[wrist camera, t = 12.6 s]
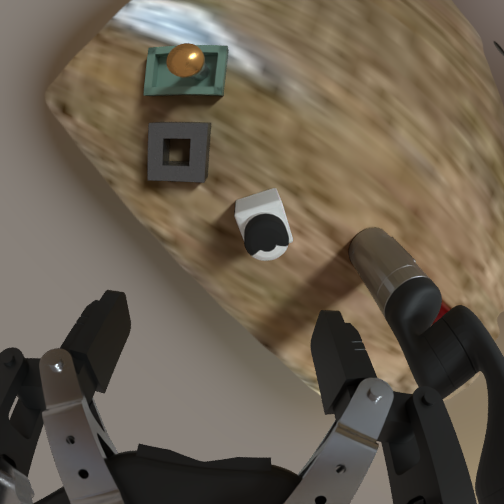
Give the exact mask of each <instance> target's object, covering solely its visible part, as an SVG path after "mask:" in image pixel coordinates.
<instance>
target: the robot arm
mask: <svg viewBox="0 0 504 504" xmlns="http://www.w3.org/2000/svg"><path fill="white" fill-rule="evenodd" d="M349 258H350V260H351V262H352V264H353V265H354V267H355V269H356V270H357V272H358V274H359V275H360V277H361V278H362V280H363V282H364V283H365V285H366V287H367V288H368V290H369V292H370V293H371V295H372V297H373V298H374V300H375V302H376V303H377V305H378V307H379V308H380V310H381V312H382V314H383V315H384V317H385V319H386V321H387V322H388V324H389V326H390V327H391V329H392V331H393V333H394V335H395V336H396V338H397V340H398V342H399V344H400V346H401V348H402V351H403V353H404V355H405V358H406V360H407V362H408V365H409V367H410V370H411V372H412V374H413V376H414V379H415V381H416V383H417V384H418V386H419V388H417V389H416V390H415V391H414V393H413V394H407V393H400V392H395V391H393V390H392V388H391V387H390V386H389V384H388V383H386V382H385V381H383V380H381V379H379V378H377V376H376V373H375V371H374V368H373V366H372V363H371V361H370V358H369V356H368V354H367V351H366V350H365V346H364V344H363V343H362V339H361V337H360V335H359V332H358V331H357V330H356V329H355V328H354V327H353V326H352V325H351V323H345V322H344V320H343V317H342V315H341V313H340V311H330V310H321V311H320V313H319V316H318V319H317V322H316V326H315V329H314V332H313V335H312V338H311V353H312V357H313V362H314V366H315V371H316V375H317V380H318V384H319V389H320V393H321V398H322V403H323V407H324V412H325V415H327V414H335V418H336V420H335V422H334V423H333V425H332V426H331V428H330V430H329V431H328V433H327V434H326V436H325V438H324V439H323V441H322V442H321V444H320V445H319V447H318V448H317V450H316V451H315V453H314V454H313V455H312V457H311V458H310V459H309V461H308V462H307V463H306V465H305V466H304V467H303V469H302V470H301V471H300V472H299V474H298V475H297V474H295V473H293V472H292V471H290V470H287V469H285V468H282V467H279V466H276V465H271V458H250V457H249V458H248V457H236V458H229V459H223V460H215V461H209V462H208V461H207V462H202V461H198V460H195V459H192V458H190V457H187V456H184V455H181V454H179V453H176V452H174V451H171V450H168V449H162V448H157V447H152V446H147V445H143V444H139V445H138V449H137V451H127V452H123V453H118V452H117V450H116V448H115V446H114V445H113V443H112V441H111V440H110V438H109V436H108V433H107V431H106V429H105V427H104V424H103V422H102V419H101V417H100V414H99V412H98V409H97V406H96V404H95V401H94V399H93V395H94V393H95V391H97V392H101V393H105V392H106V389H107V386H108V384H109V381H110V379H111V376H112V374H113V371H114V369H115V366H116V364H117V362H118V359H119V357H120V354H121V352H122V350H123V347H124V345H125V343H126V340H127V338H128V336H129V333H130V329H131V320H130V315H129V310H128V305H127V300H126V295H125V293H124V292H119V291H112V290H107V291H106V292H105V293H104V295H103V296H102V298H101V299H100V300H99V301H98V300H95V301H93V302H92V303H91V304H89V305H88V306H87V307H86V308H85V310H84V311H83V313H82V314H81V317H79V319H78V320H77V323H76V324H75V325H74V326H73V328H72V329H71V331H70V333H69V334H68V336H67V337H66V339H65V341H64V342H63V344H62V345H61V347H60V348H56V349H52V350H49V351H47V352H46V353H45V354H44V355H43V356H42V357H41V358H40V359H38V358H24V356H23V354H22V352H21V351H20V350H19V349H17V348H7V349H5V350H4V351H2V352H1V353H0V504H350V502H351V500H352V499H353V497H354V495H355V493H356V492H357V490H358V488H359V486H360V484H361V483H362V481H363V479H364V477H365V475H366V473H367V471H368V469H369V467H370V465H371V463H372V461H373V459H374V457H375V455H376V452H377V450H378V446H379V445H378V444H377V443H376V441H380V442H381V443H382V447H383V452H384V456H385V461H386V466H387V471H388V476H389V481H390V487H391V493H392V499H393V504H477V503H476V498H475V494H474V490H473V486H472V482H471V479H470V475H469V472H468V468H467V465H466V462H465V459H464V456H463V453H462V450H461V447H460V444H459V441H458V438H457V435H456V432H455V430H454V427H453V424H452V422H451V419H450V417H449V414H448V412H447V409H446V407H445V404H444V402H443V400H442V399H444V398H445V397H447V396H448V395H450V394H451V393H452V392H454V391H455V390H456V389H458V388H459V387H460V386H462V385H463V384H464V383H465V382H467V381H468V380H469V379H470V378H472V377H473V376H474V375H475V374H476V373H477V372H479V371H481V372H482V373H483V374H484V376H485V379H486V383H487V389H488V422H487V429H486V435H485V440H484V445H483V449H482V453H481V457H480V462H479V466H478V471H477V476H476V482H475V491H476V495H477V498H478V502H479V504H504V357H503V355H502V353H501V351H500V350H499V348H498V347H497V345H496V343H495V342H494V340H493V339H492V337H491V335H490V334H489V332H488V331H487V330H486V328H485V327H484V325H483V324H482V322H481V321H480V320H479V319H478V317H477V316H476V315H475V314H474V313H473V312H472V311H471V310H470V309H468V308H467V307H465V306H462V305H458V306H455V307H454V308H452V309H451V310H450V311H448V312H447V313H446V314H445V315H444V316H442V317H441V318H440V319H439V320H438V321H437V322H435V323H434V324H433V325H432V323H433V321H434V320H435V318H436V316H437V315H438V312H439V310H440V307H441V302H442V297H441V293H440V290H439V289H438V287H437V286H436V285H435V284H434V282H433V281H432V280H431V279H430V278H429V277H428V276H427V275H426V274H425V273H424V272H423V270H422V269H421V268H420V267H419V266H418V265H417V264H416V261H415V259H414V258H413V257H412V256H411V255H410V254H409V253H408V252H407V251H406V250H405V249H404V248H403V247H402V246H401V245H400V244H399V243H398V242H397V241H396V240H395V239H394V238H393V237H390V236H389V235H388V234H387V233H386V232H385V231H384V230H382V229H380V228H375V227H374V228H368V229H365V230H363V231H361V232H360V233H359V234H357V235H356V237H355V238H354V239H353V241H352V242H351V245H350V248H349ZM431 325H432V326H431ZM430 326H431V327H430ZM16 396H17V397H18V398H19V399H18V401H17V404H16V406H15V408H14V410H13V413H12V415H11V418H10V420H9V417H8V416H9V411H10V409H11V407H12V405H13V402H14V400H15V398H16ZM43 424H44V426H45V430H46V434H47V438H48V441H49V445H50V448H51V452H52V455H53V458H54V461H55V464H56V467H57V470H58V473H59V475H60V478H61V481H62V483H63V487H62V488H60V489H58V490H57V491H55V492H53V493H51V494H50V495H48V496H46V497H45V498H43V499H41V500H39V501H37V502H35V503H33V502H32V498H33V497H34V491H33V489H32V488H31V484H30V482H29V480H28V478H27V477H28V474H29V470H30V466H31V462H32V458H33V455H34V452H35V449H36V445H37V442H38V439H39V436H40V433H41V430H42V427H43Z"/></svg>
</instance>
